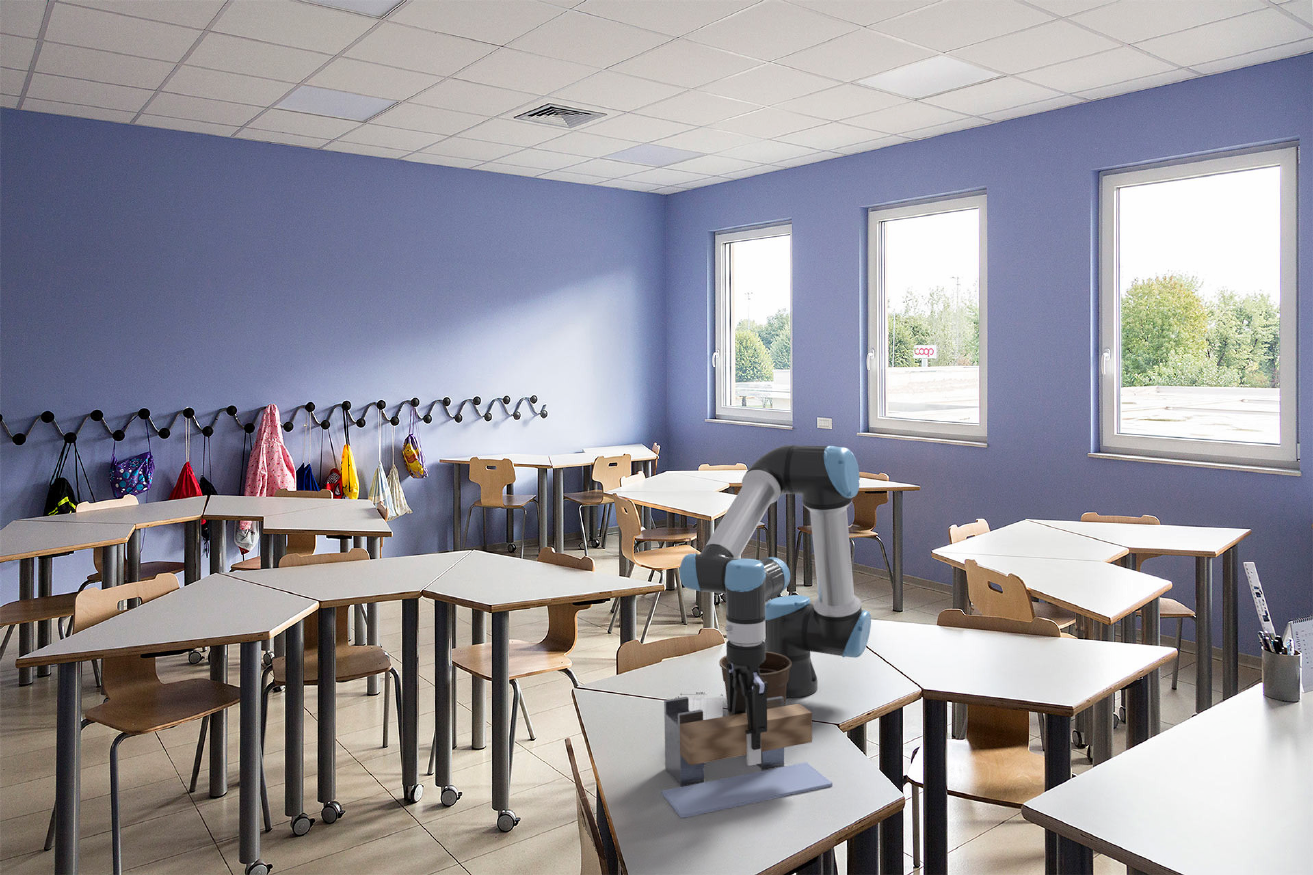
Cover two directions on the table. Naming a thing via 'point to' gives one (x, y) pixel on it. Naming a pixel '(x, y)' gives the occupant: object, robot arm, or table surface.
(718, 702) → the baseboard molding
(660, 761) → the table surface
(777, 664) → the plant pot
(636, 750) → the table surface
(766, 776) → the felt pad
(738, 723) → the oak rail
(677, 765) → the stand
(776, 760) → the stand
